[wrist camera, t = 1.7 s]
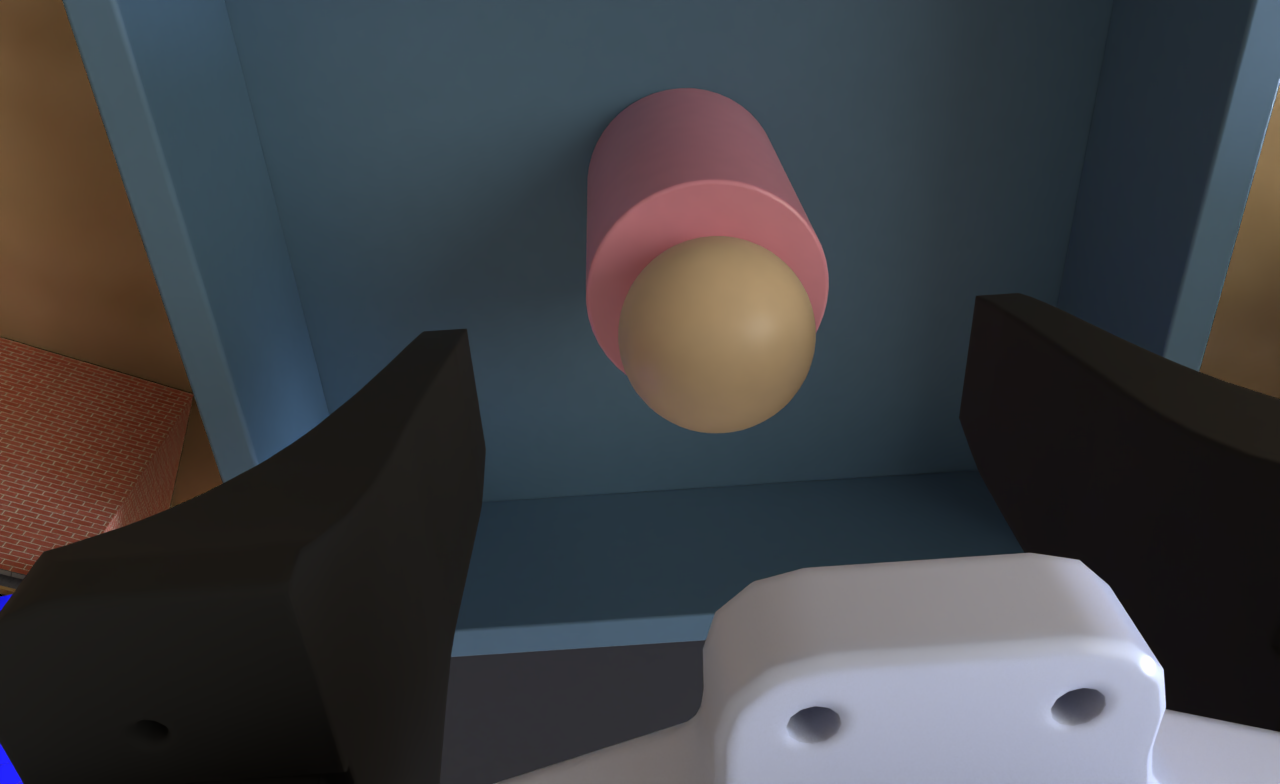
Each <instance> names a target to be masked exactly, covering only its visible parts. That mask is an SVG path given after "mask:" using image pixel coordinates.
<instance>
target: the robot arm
mask: <svg viewBox="0 0 1280 784" xmlns="http://www.w3.org/2000/svg"><path fill="white" fill-rule="evenodd" d="M959 419H960V422H961V425H962V428H963V431H964V434H965V436H966V439H967V442H968V445H969V448H970V450H971V453H972V456H973V458H974V461H975V463H976V466H977V468H978V471H979V473H980V475H981V477H982V479H983V481H984V482H985V484H986V486H987V488H988V490H989V492H990V493H991V495H992V497H993V499H994V500H995V502H996V504H997V506H998V508H999V509H1000V511H1001V513H1002V515H1003V516H1004V518H1005V520H1006V522H1007V523H1008V525H1009V527H1010V529H1011V530H1012V532H1013V534H1014V536H1015V537H1016V539H1017V541H1018V542H1019V544H1020V546H1021V548H1022V549H1023V551H1024V553H1019V554H1004V555H989V556H974V557H959V558H944V559H929V560H914V561H899V562H884V563H870V564H855V565H840V566H825V567H810V568H802V569H798V570H795V571H791V572H787V573H784V574H780V575H776V576H772V577H769V578H765V579H761V580H757V581H754V582H752V583H751V584H749V585H748V586H747V587H746V588H744V589H743V590H742V591H741V592H739V593H738V594H737V595H736V596H735V597H733V598H732V599H731V600H730V601H728V602H727V603H726V604H725V605H724V606H722V607H721V608H720V609H719V610H717V611H716V612H715V615H714V618H713V621H712V624H711V626H710V629H709V632H708V635H707V638H706V641H705V644H704V647H703V681H704V690H703V696H702V702H701V707H700V708H699V710H698V712H697V714H696V715H695V716H694V717H693V718H691V719H690V720H689V721H687V722H684V723H681V724H678V725H675V726H672V727H669V728H666V729H663V730H659V731H656V732H653V733H650V734H647V735H644V736H641V737H638V738H635V739H631V740H628V741H625V742H622V743H619V744H616V745H613V746H610V747H606V748H603V749H600V750H597V751H594V752H591V753H588V754H585V755H581V756H578V757H575V758H572V759H569V760H566V761H563V762H560V763H556V764H553V765H550V766H547V767H544V768H541V769H538V770H535V771H532V772H528V773H525V774H522V775H519V776H516V777H513V778H510V779H507V780H503V781H500V782H497V783H494V784H1280V399H1278V398H1275V397H1271V396H1268V395H1265V394H1262V393H1259V392H1256V391H1253V390H1250V389H1247V388H1244V387H1241V386H1237V385H1234V384H1231V383H1228V382H1225V381H1222V380H1220V379H1217V378H1214V377H1212V376H1209V375H1206V374H1203V373H1201V372H1198V371H1196V370H1193V369H1191V368H1189V367H1186V366H1184V365H1181V364H1179V363H1176V362H1174V361H1171V360H1169V359H1167V358H1164V357H1162V356H1159V355H1157V354H1155V353H1153V352H1150V351H1148V350H1146V349H1144V348H1141V347H1139V346H1137V345H1135V344H1133V343H1130V342H1128V341H1126V340H1124V339H1122V338H1120V337H1118V336H1115V335H1113V334H1111V333H1109V332H1107V331H1105V330H1103V329H1101V328H1099V327H1096V326H1094V325H1092V324H1090V323H1088V322H1086V321H1084V320H1082V319H1080V318H1078V317H1076V316H1074V315H1071V314H1069V313H1067V312H1065V311H1063V310H1061V309H1059V308H1056V307H1054V306H1052V305H1050V304H1048V303H1045V302H1043V301H1040V300H1038V299H1036V298H1033V297H1030V296H1027V295H1024V294H1021V293H1010V294H995V295H979V296H976V298H975V305H974V313H973V320H972V327H971V334H970V342H969V349H968V356H967V363H966V370H965V378H964V385H963V392H962V399H961V406H960V414H959ZM485 455H486V446H485V440H484V434H483V428H482V421H481V415H480V409H479V402H478V396H477V390H476V384H475V377H474V371H473V365H472V358H471V352H470V346H469V340H468V333H467V329H452V330H436V331H423V332H422V333H421V334H420V335H418V336H417V337H416V338H415V339H414V340H413V341H412V342H411V343H410V344H409V345H408V346H406V347H405V348H404V349H403V350H402V351H401V352H400V353H399V354H398V355H397V356H396V357H395V358H394V359H393V360H392V361H391V362H390V363H389V364H388V365H387V366H386V367H385V368H383V369H382V370H381V371H380V372H379V373H378V374H377V375H376V376H375V377H374V378H373V379H372V380H370V381H369V382H368V383H367V384H366V385H365V386H364V387H363V388H362V389H361V390H360V391H358V392H357V393H356V394H355V395H354V396H353V397H351V398H350V399H349V400H348V401H346V402H345V403H344V404H343V405H341V406H340V407H339V408H338V409H337V410H335V411H334V412H333V413H332V414H330V415H329V416H328V417H327V418H326V419H324V420H323V421H322V422H321V423H319V424H318V425H317V426H316V427H314V428H313V429H312V430H310V431H309V432H308V433H306V434H305V435H303V436H302V437H300V438H299V439H298V440H296V441H295V442H293V443H292V444H290V445H289V446H287V447H286V448H284V449H282V450H281V451H279V452H278V453H276V454H275V455H273V456H272V457H270V458H268V459H267V460H265V461H263V462H262V463H260V464H258V465H257V466H255V467H253V468H251V469H249V470H247V471H245V472H244V473H242V474H240V475H238V476H236V477H234V478H232V479H230V480H228V481H226V482H225V483H223V484H221V485H219V486H217V487H215V488H213V489H211V490H209V491H208V492H206V493H203V494H201V495H199V496H197V497H195V498H193V499H190V500H188V501H186V502H184V503H181V504H179V505H177V506H175V507H172V508H170V509H167V510H165V511H162V512H160V513H157V514H155V515H152V516H150V517H147V518H145V519H142V520H140V521H137V522H134V523H132V524H129V525H126V526H124V527H121V528H118V529H115V530H111V531H108V532H105V533H102V534H99V535H96V536H93V537H90V538H87V539H83V540H80V541H77V542H74V543H71V544H68V545H65V546H62V547H58V548H55V549H51V550H48V551H44V552H43V553H42V554H41V556H40V557H39V558H38V560H37V561H36V562H35V564H34V565H33V566H32V568H31V569H30V571H29V572H28V573H27V575H26V576H25V578H24V579H23V580H22V582H21V583H20V585H19V586H18V587H17V589H16V590H15V592H14V593H13V594H12V596H11V597H10V599H9V600H8V601H7V603H6V604H5V606H4V607H3V608H2V610H1V611H0V744H1V746H2V747H3V749H4V751H5V752H6V754H7V756H8V758H9V759H10V761H11V763H12V765H13V766H14V768H15V770H16V772H17V773H18V775H19V777H20V779H21V780H22V782H23V784H440V774H441V761H442V749H443V737H444V725H445V713H446V702H447V692H448V682H449V672H450V661H451V653H452V647H453V641H454V635H455V628H456V624H457V619H458V614H459V610H460V605H461V601H462V596H463V592H464V587H465V583H466V578H467V574H468V569H469V564H470V560H471V555H472V551H473V546H474V542H475V537H476V532H477V527H478V523H479V518H480V513H481V508H482V499H483V487H484V472H485Z"/></svg>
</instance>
